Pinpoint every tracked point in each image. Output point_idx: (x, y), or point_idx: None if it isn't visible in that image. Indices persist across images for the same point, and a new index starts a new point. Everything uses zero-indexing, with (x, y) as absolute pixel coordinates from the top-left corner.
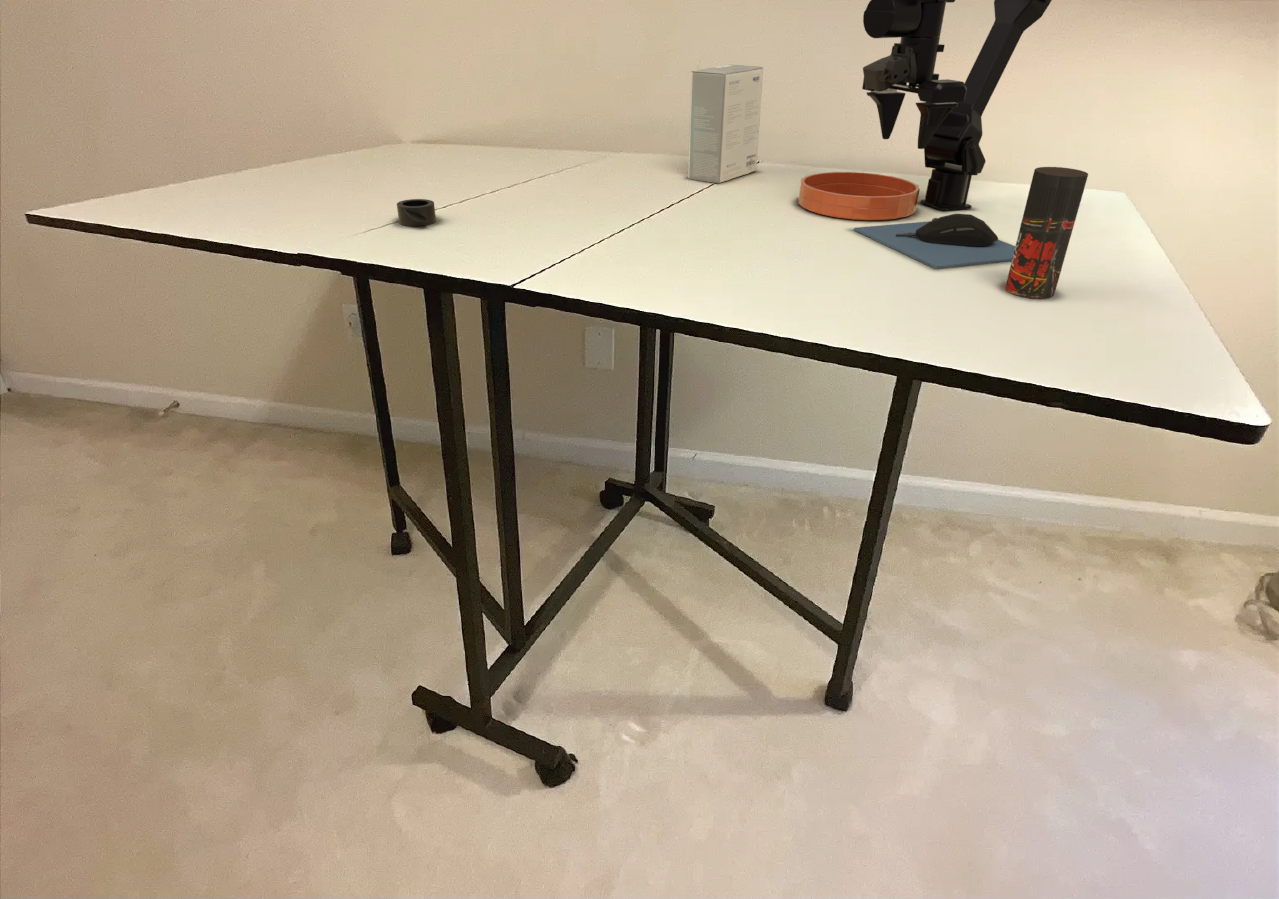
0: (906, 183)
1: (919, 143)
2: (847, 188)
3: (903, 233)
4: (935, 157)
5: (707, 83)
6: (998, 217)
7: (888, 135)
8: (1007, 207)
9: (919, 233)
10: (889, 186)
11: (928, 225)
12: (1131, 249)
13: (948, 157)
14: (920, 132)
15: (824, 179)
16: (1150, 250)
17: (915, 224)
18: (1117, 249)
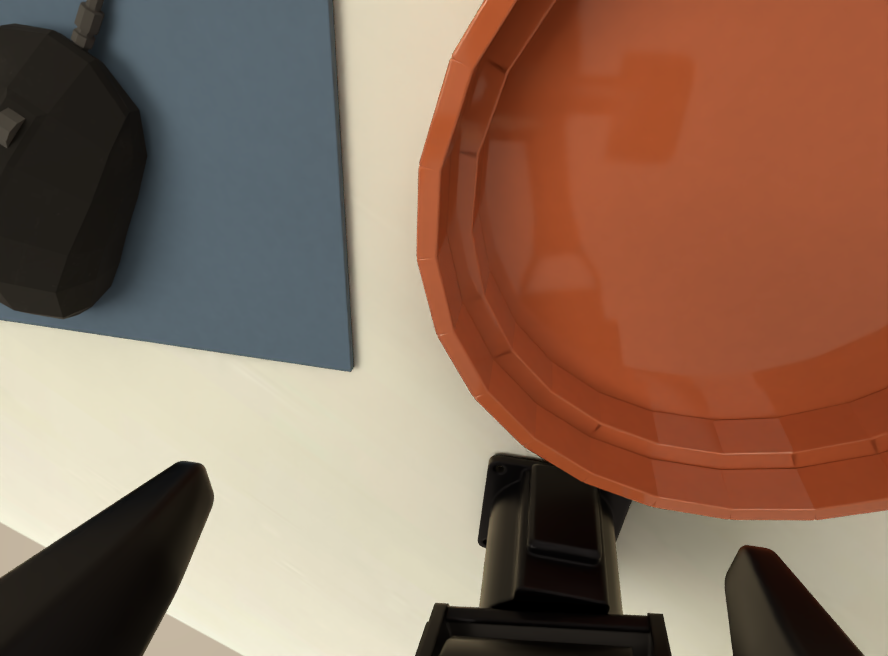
0: (679, 491)
1: (141, 486)
2: None
3: (168, 38)
4: (568, 648)
5: None
6: (368, 523)
7: (737, 605)
8: (459, 606)
9: (27, 30)
10: (790, 470)
11: (5, 81)
12: (49, 526)
13: (477, 652)
14: (50, 571)
15: None
16: (45, 545)
17: (313, 213)
18: (46, 507)
